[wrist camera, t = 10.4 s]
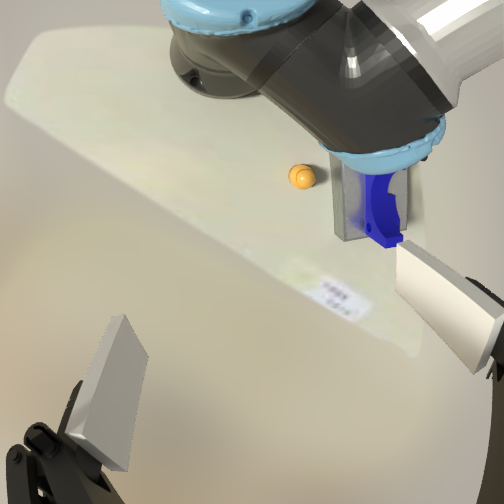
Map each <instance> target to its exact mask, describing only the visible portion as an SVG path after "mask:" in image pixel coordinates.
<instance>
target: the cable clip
mask: <svg viewBox="0 0 504 504" xmlns="http://www.w3.org/2000/svg"><path fill="white" fill-rule="evenodd" d="M402 170H406V168H405V169H402ZM396 172H397V171H396ZM396 172H393V173H389V174H383V175H367V174H365V183H366V229H365V234H366V235H367V236H369V237H370V238H372V239H373V240H374V241H376V242H377V243H379V244H380V245H381V246H383V247H384V248H385V249H386V248H391V247H397V243H400V242H403V235H402V234H401V233H400V218H399V215H398V211H397V207H396V195H394V194H391V193H388V187H389V183H390V180H391V178H392V176H393V175H394V174H395V173H396Z"/></svg>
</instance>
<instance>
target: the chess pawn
mask: <svg viewBox="0 0 504 504" xmlns="http://www.w3.org/2000/svg"><path fill="white" fill-rule="evenodd" d="M289 180H290V182H291V183H292V184H293V185H294V186H296V187H297V188H299V189H307V188H309V187H311V186H313V185H314V183H315V174H314V171H313V170H312V169H311V168H310V167H308V166H305V165H302V164H298V165H295V166H293V167H292V168H291V169H290V171H289Z"/></svg>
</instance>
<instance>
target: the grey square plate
mask: <svg viewBox="0 0 504 504" xmlns="http://www.w3.org/2000/svg"><path fill="white" fill-rule="evenodd" d="M329 154H330V165H331V177H332V191H333V208H334V230H335V234H336V235H337V236H338V237H339V238H340V239H341V240H343V241H344V242H345V241H351V240H356V239H361V238H367V237H369V236H367V235H366V234H365V229H366V183H365V174H363V173H360V172H358V171H355V170H352V169H350V168H349V167H348V166H346V165H345V164H344V163H343V162H342V161H341V160H340V159H338V158H337V157H336V156H335V155H334V154H332V153H330V152H329ZM427 158H428V155H427V156H426V157H425V158H423V159H422V160H420V161H426V160H427ZM388 193H391V194H394V195H396V207H397V211H398V215H399V218H400V231H404V230H407V207H408V168H406V170H400V171H397V172H396V173H395V174H394V175H393V176H392V178H391V180H390V183H389V187H388Z"/></svg>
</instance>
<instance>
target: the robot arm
mask: <svg viewBox="0 0 504 504" xmlns="http://www.w3.org/2000/svg"><path fill="white" fill-rule="evenodd" d="M160 6H161V9H162V12H164V15H165V16H167V20H168V21H169V23H170V26H171V28H172V30H173V33H174V35H173V38H172V41H171V45H170V58H171V63H172V66H173V68H174V70H175V72H176V74H177V76H178V77H179V78H180V80H181V81H182V82H183V83H184V84H185V85H186V86H187V87H188V88H190V89H191V90H193V91H194V92H196V93H198V94H200V95H203V96H206V97H210V98H215V99H233V98H239V97H242V96H246V95H248V94H251V93H253V92H255V91H256V90H259V89H260V90H259V91H258V92H260V93H261V94H262V95H264V96H265V97H266V98H268V99H269V100H270V101H271V102H273V103H274V104H275V105H276V106H278V107H279V108H280V109H282V110H283V111H284V112H285V113H286V114H288V115H289V116H290V117H291V118H293V119H294V120H295V121H296V122H297V123H298V124H300V125H301V126H302V127H303V128H304V129H305V130H307V131H308V132H309V133H310V134H311V135H312V136H313V137H315V138H316V139H317V140H318V142H319V144H320V145H321V146H322V147H323V148H324V149H325V150H326V151H328V152H330V153H332V154H334V155H335V156H336V157H337V158H338V159H340V160H341V161H342V162H343V163H344V164H345V165H346V166H348V167H349V168H350V169H352V170H355V171H358V172H360V173H363V174H367V175H383V174H389V173H393V172H396V171H400V170H402V169H405V168H407V167H410V166H412V165H414V164H415V163H417V162H419V161H420V160H422V159H423V158H425V157H426V156H427V155H428V154H429V153H430V152H432V146H433V145H437V144H439V143H440V141H441V140H442V138H443V136H444V133H445V129H446V121H445V114H444V113H446V112H448V111H450V110H451V109H453V108H455V107H456V106H457V103H458V97H459V89H460V85H461V83H462V81H463V80H465V79H467V78H469V77H470V76H472V75H474V74H475V73H477V72H479V71H481V70H482V69H484V68H486V67H488V66H489V65H491V64H492V63H495V62H496V61H498V60H500V59H502V58H504V0H361V1H360V2H359V3H357V4H356V5H355V6H354V7H352V8H351V9H348V8H347V7H346V6H343V4H342V3H341V2H340V1H338V0H161V1H160ZM342 6H343V7H342ZM341 7H342V8H341ZM280 66H281V67H280ZM279 67H280V68H279ZM278 68H279V69H278ZM277 69H278V70H277ZM276 70H277V71H276ZM395 291H396V292H397V293H398V294H399V295H400V296H401V297H402V298H403V299H404V300H405V301H406V302H407V303H408V304H409V305H410V306H411V307H412V308H413V309H414V310H415V311H416V312H417V313H418V314H419V315H420V317H421V318H422V319H423V320H424V321H425V322H426V323H427V324H428V325H429V326H430V327H431V328H432V329H433V330H434V331H435V332H436V333H437V334H438V336H439V337H440V338H441V339H442V340H443V341H444V342H445V343H446V344H447V345H448V346H449V347H450V349H451V350H452V351H453V352H454V353H455V354H456V355H457V356H458V358H459V359H460V360H461V361H462V362H463V363H464V364H465V366H466V367H467V368H468V369H469V370H470V371H471V373H472V374H475V373H476V372H478V371H479V370H481V369H482V368H484V367H485V366H486V364H487V362H488V359H489V357H490V355H491V356H492V357H493V358H494V361H493V363H492V366H491V368H490V370H489V372H488V374H487V377H486V379H489V377H490V375H491V373H493V376H492V379H493V396H492V399H493V400H492V417H491V430H490V439H489V446H488V453H487V459H486V465H485V470H484V475H483V480H482V484H481V488H480V492H479V496H478V500H477V503H476V504H504V301H503V300H501V299H500V298H499V297H497V296H496V295H495V294H494V293H491V291H490V290H488V289H487V288H485V287H484V286H483V285H482V284H481V283H479V282H478V281H476V280H474V279H471V278H468V277H465V278H464V277H463V276H461V275H460V274H459V273H457V272H456V271H455V270H453V269H452V268H450V267H449V266H448V265H446V264H445V263H443V262H442V261H440V260H439V259H437V258H436V257H434V256H433V255H431V254H430V253H429V252H427V251H426V250H424V249H422V248H421V247H419V246H418V245H416V244H415V243H413V242H412V241H410V240H406V241H403V242H400V243H397V266H396V290H395ZM147 361H148V355H147V353H146V351H145V350H144V348H143V346H142V345H141V343H140V341H139V339H138V338H137V336H136V334H135V332H134V330H133V328H132V327H131V325H130V323H129V321H128V319H127V317H126V315H125V314H122V315H118V316H113V317H111V319H110V321H109V323H108V326H107V328H106V330H105V332H104V334H103V336H102V338H101V341H100V343H99V345H98V348H97V350H96V352H95V354H94V356H93V359H92V361H91V364H90V366H89V368H88V371H87V373H86V376H85V378H84V380H82V381H79V383H78V384H77V385H76V386H75V388H74V389H73V391H72V394H71V396H70V401H68V404H67V409H65V412H64V415H63V417H62V420H61V423H60V426H59V429H58V432H57V434H56V433H54V432H53V431H52V430H51V429H50V428H49V427H48V426H47V425H46V424H44V423H42V422H37V423H35V424H33V425H31V427H29V428H28V430H27V431H26V433H25V436H24V445H26V446H27V447H28V448H29V449H30V450H31V451H28V450H27V449H26V448H25V447H24V446H22V445H20V444H16V445H14V446H12V447H11V448H10V449H9V451H8V453H7V457H6V480H7V496H8V504H125V503H124V502H123V501H122V499H121V498H120V496H119V495H118V494H117V492H116V490H115V489H114V487H113V486H112V484H111V483H110V481H109V479H108V478H107V476H106V475H105V474H104V473H103V472H102V471H101V467H102V464H103V465H104V466H105V467H107V468H108V469H110V470H111V471H122V472H128V463H129V457H130V451H131V444H132V438H133V432H134V425H135V420H136V415H137V409H138V404H139V399H140V394H141V389H142V384H143V380H144V375H145V370H146V366H147ZM38 489H40V490H41V491H43V497H42V496H40V495H39V494H38Z"/></svg>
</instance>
